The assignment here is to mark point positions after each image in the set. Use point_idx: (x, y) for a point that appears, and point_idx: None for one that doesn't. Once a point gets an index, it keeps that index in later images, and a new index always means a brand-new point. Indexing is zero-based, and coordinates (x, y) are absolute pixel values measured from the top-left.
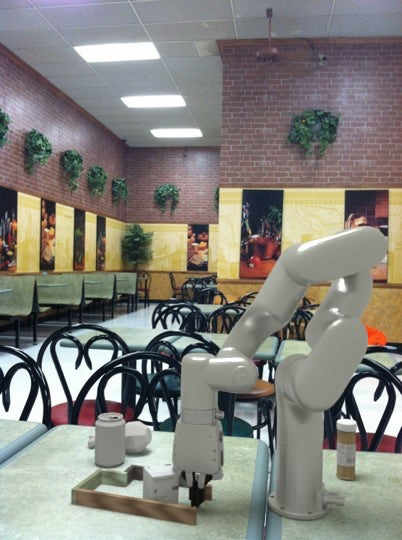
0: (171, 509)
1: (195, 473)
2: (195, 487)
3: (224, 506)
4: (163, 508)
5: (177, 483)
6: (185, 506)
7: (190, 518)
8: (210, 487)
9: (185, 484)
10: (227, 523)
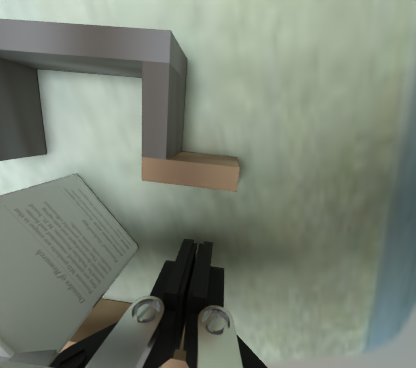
0: None
1: (143, 356)
2: (179, 341)
3: (291, 206)
4: None
5: (81, 322)
6: (173, 364)
7: None
8: (233, 189)
9: (96, 71)
10: (307, 307)
